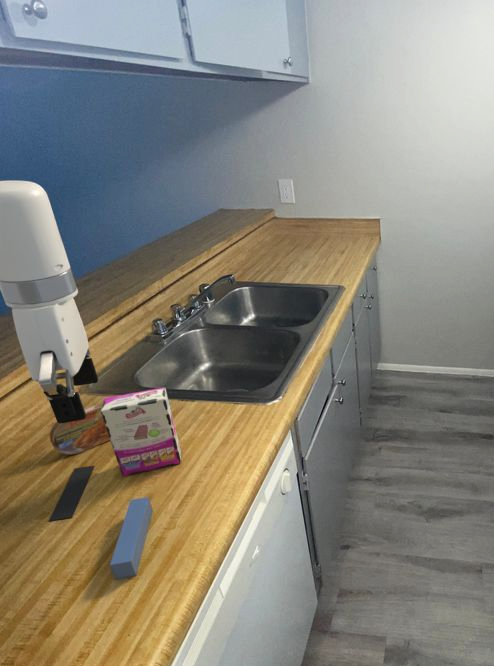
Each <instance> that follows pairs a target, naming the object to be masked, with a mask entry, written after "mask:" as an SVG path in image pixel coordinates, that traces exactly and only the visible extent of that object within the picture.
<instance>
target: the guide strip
mask: <svg viewBox="0 0 494 666" xmlns="http://www.w3.org/2000/svg"><path fill="white" fill-rule="evenodd" d="M94 469H95V465H89V466H83V467H82V466H81V467H75V468H74V469H73V470H72V473H71V475H70V476H69V479H68V481H67V483H66V485H65V486H64V489H63V491H62V492H61V495H60V497H59V499H58V500H57V502H56V504H55V506H54V508H53V511H52V513H51V515H50V517H49V519H48V522H54V521H60V520H66V519H72V518H73V516H74V514H75V511H76V509H77V507H78V504H79V502H80V500H81V498H82V496H83V494H84V491H85V488H86V486H87V485H88V482H89V479H90V477H91V475H92V473H93V472H94Z"/></svg>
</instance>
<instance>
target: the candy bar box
mask: <svg viewBox="0 0 494 666" xmlns="http://www.w3.org/2000/svg"><path fill="white" fill-rule="evenodd" d="M102 403H103V405H102V409H101V414H102V416H103V420H104V423H105V425H106V428H107V431H108V435H109V437H110V440H109V441H110V444H111V447H112V449H113V452H114V455H115V458H116V461H117V464H118V467H119V471H120V474H121V477H128V476H132V475H136V474H140V473H141V474H142V473H145V472H148V471H152V470H158V469H162V468H165V467H170V466H174V465H178V464H181V463H182V449H181V445H180V441H179V438H178V432H177V428H176V424H175V421H174V417H173V413H172V409H171V404H170V401H169V396H168V393H167V389H166V387H165V386H164V387H159V388H154V389H147V390H143V391H138V392H132V393H126V394H119V395H115V396H109V397H104V398H103V401H102Z"/></svg>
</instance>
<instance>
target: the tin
mask: <svg viewBox="0 0 494 666" xmlns="http://www.w3.org/2000/svg"><path fill="white" fill-rule="evenodd" d="M102 405H103V402H101V403H98V404H96V405H92V406H89V407H87V408H84V410H85V413H86V417H85V419H83V420H78V421H72V422H66V423H58V422H57V421H56V422H55V423H54V424H53V425H52V427H51V429H50V431H49V441H50V443H51V445H52V447H53V448H54V449H55V450H56V452H58V453H60V454H63V455H68V456H69V455H78V454H81V453H83V452H86V451H88V450H90V449H92V448H95V447H97V446H99V445H102V444H104V443H107V442H109V441H111V440H110V437H109V435H108V431H107V428H106V425H105V423H104V420H103V416H102V414H101V409H102Z"/></svg>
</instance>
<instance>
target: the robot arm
mask: <svg viewBox="0 0 494 666" xmlns="http://www.w3.org/2000/svg"><path fill="white" fill-rule="evenodd" d="M76 284H77V283H76V281H75V278H74V275H73V270H72V268H71V265H70V261H69V259H68V255H67V252H66V249H65V245H64V243H63V239H62V237H61V233H60V230H59V227H58V224H57V221H56V217H55V215H54V211H53V209H52V205H51V202H50V199H49V196H48V193H47V191H45V189H44V188H43V186H41V185H40V184H38V183H36V182H33V181H28V180H0V293H1V295H2V297H3V300H4V303H5V305H6V307H8V308H11V312H12V318H13V319H12V320H13V323H14V328H15V333H16V336H17V339H18V342H19V345H20V349H21V352H22V355H23V358H24V360H25V365H26V367H27V370H28V373H29V375H30V378H31V379H32V380H33V381H34V382H38V384H39V386H40V387H41V388H42V390H43V394H44V395H45V397H46V399H47V401H48V402H49V405H50V407H51V409H52V412H53V414H54V417H55V420H56V422H58V423H66V422H72V421H78V420H83V419H85V417H86V413H85V408H84V405H83V402H82V399H81V396H80V393H79V391H76V392H75V387H78V386H79V387H80V386H86V385H92V384H97V383H98V382H99V376H98V373H97V370H96V366H95V364H94V361H93V358H92V357H91V351H90V349H89V340H88V336H87V335H88V334H87V332H86V329H85V326H84V322H83V319H82V317H81V314H80V312H79V309H78V306H77V304H76V301H75V299H74V298H75V297H76V296H77V295H78V294H79V290H78V287H77V285H76ZM63 370H64V372H58V373H57V372H56V371H63ZM59 380H65V385H63V384H62V383H58V381H59Z"/></svg>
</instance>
